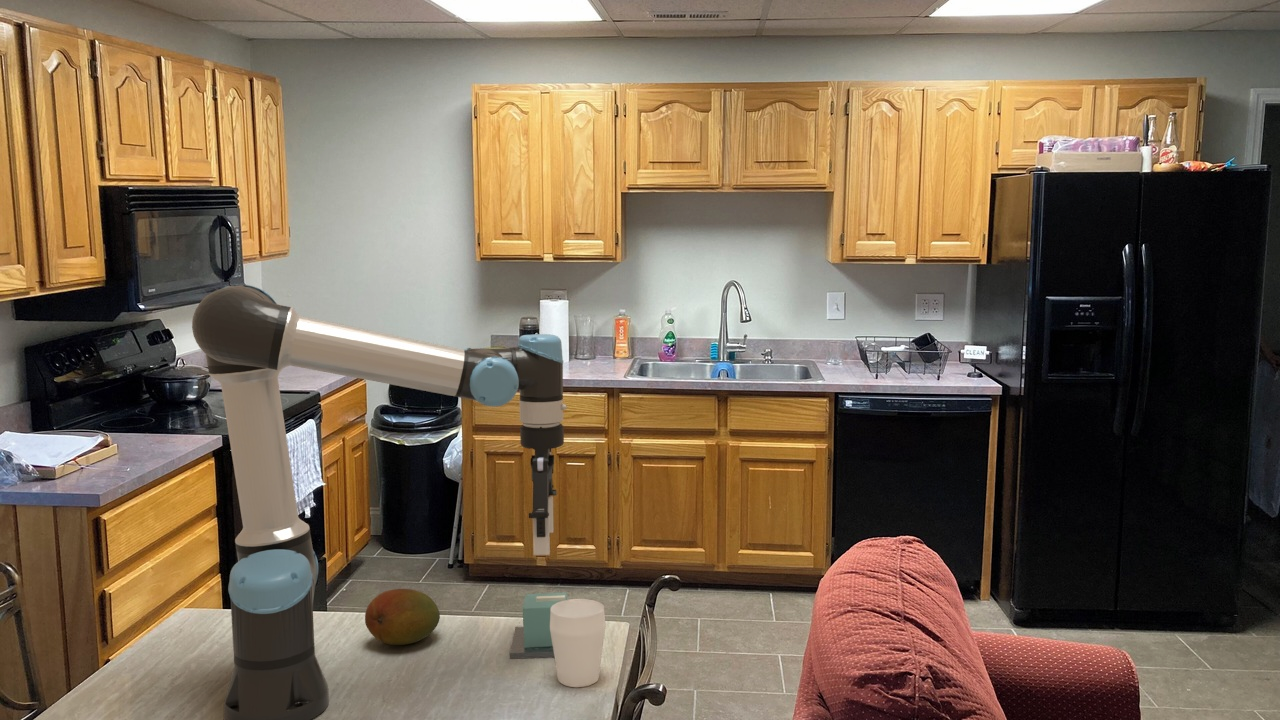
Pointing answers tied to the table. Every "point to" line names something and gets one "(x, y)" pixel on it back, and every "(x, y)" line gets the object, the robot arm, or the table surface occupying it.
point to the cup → (577, 640)
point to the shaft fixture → (530, 652)
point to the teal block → (539, 618)
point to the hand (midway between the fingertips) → (543, 543)
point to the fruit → (401, 616)
